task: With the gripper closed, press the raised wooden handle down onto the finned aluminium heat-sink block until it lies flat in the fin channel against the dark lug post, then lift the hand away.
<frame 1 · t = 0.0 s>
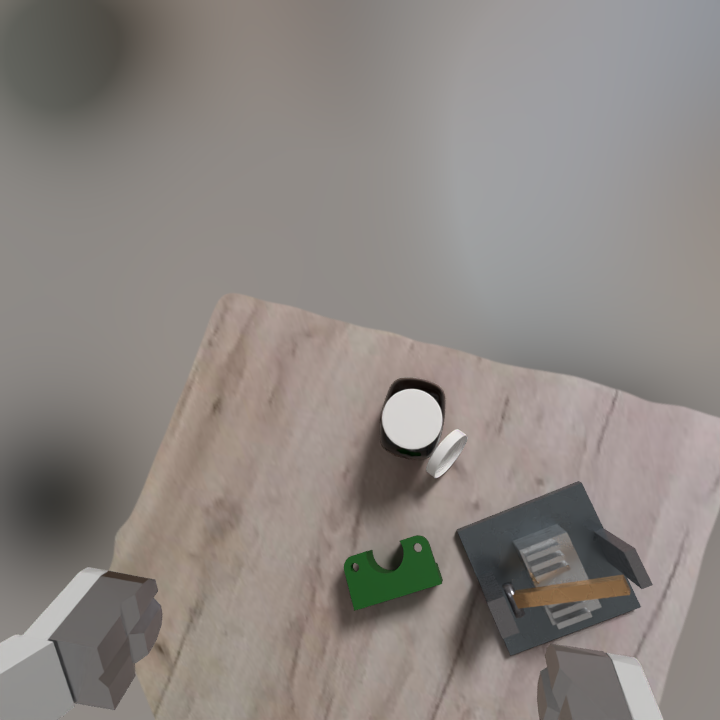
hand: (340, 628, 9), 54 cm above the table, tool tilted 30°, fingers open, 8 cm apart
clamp: (394, 562, 62), on the table
heatsink mount: (543, 565, 59), on the table
wooden handle: (563, 593, 50), point 9 cm above the table, hinge at 28.0°
chocolate spread jar: (424, 426, 63), on the table
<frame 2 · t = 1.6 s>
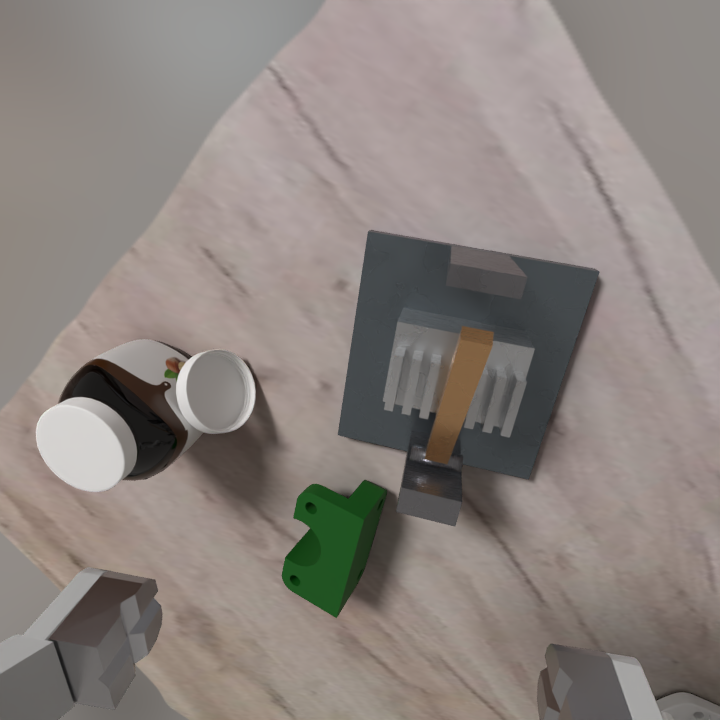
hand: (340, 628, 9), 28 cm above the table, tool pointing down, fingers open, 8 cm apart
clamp: (340, 515, 44), on the table
heatsink mount: (453, 357, 36), on the table
wooden handle: (452, 410, 28), point 9 cm above the table, hinge at 28.0°
chocolate spread jar: (194, 378, 42), on the table
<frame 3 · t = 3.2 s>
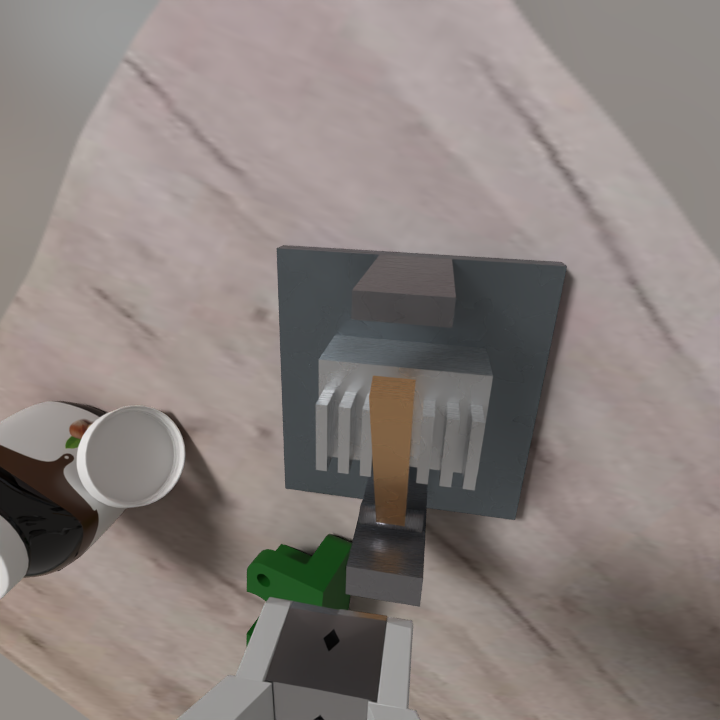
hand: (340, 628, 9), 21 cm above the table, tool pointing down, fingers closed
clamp: (310, 573, 38), on the table
heatsink mount: (406, 386, 30), on the table
wooden handle: (391, 470, 22), point 9 cm above the table, hinge at 28.0°
chocolate spread jar: (117, 436, 36), on the table
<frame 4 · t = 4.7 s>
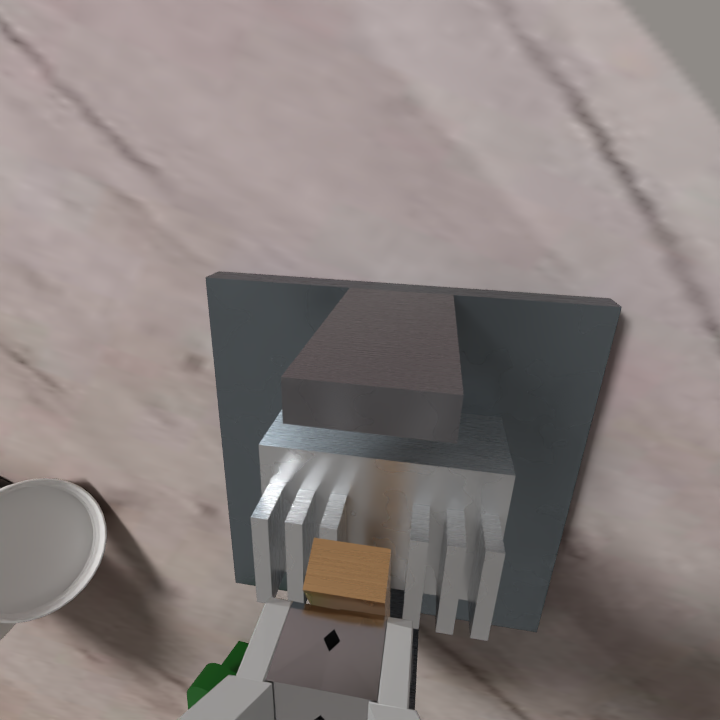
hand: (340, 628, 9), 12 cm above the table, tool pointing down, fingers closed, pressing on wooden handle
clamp: (276, 673, 30), on the table
heatsink mount: (391, 458, 22), on the table
wooden handle: (362, 630, 14), point 9 cm above the table, hinge at 27.8°, touching gripper
chocolate spread jar: (25, 508, 28), on the table
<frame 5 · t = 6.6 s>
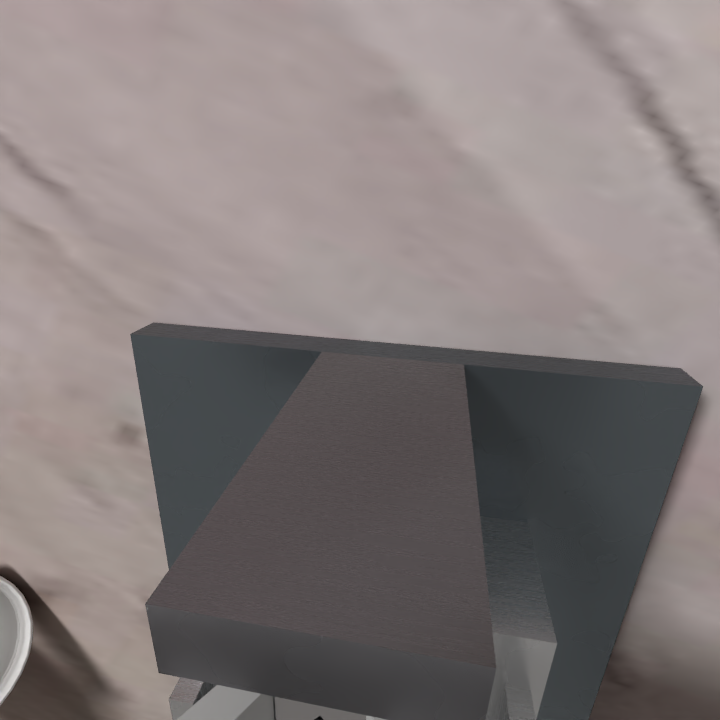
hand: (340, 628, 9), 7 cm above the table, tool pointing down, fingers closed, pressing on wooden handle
heatsink mount: (381, 557, 17), on the table
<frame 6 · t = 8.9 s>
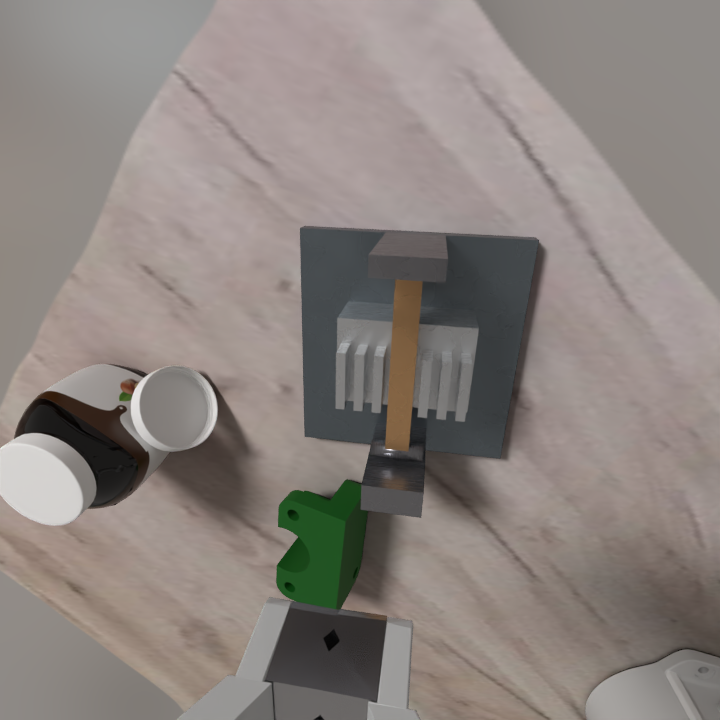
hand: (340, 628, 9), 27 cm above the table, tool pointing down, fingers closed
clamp: (329, 516, 44), on the table
heatsink mount: (407, 345, 35), on the table
wooden handle: (402, 372, 30), point 6 cm above the table, hinge at -0.3°
chocolate spread jar: (157, 396, 41), on the table
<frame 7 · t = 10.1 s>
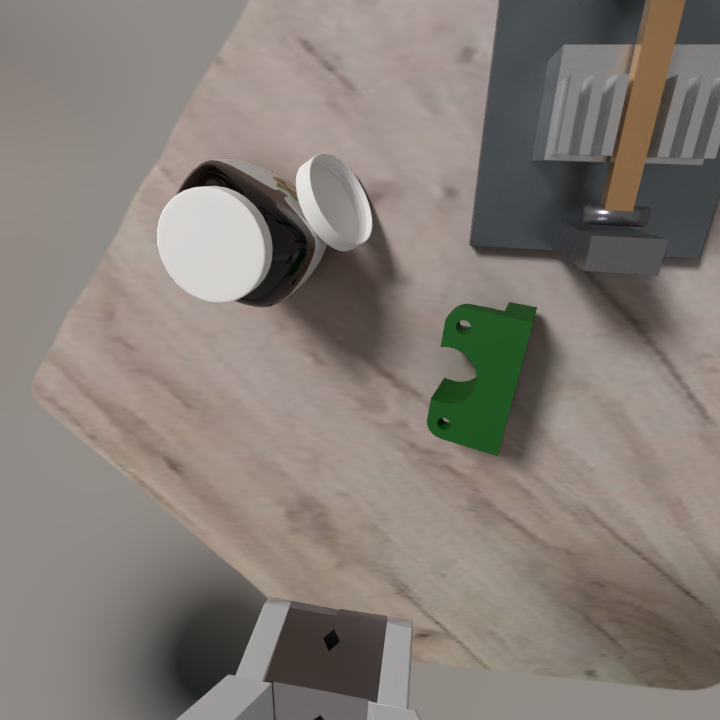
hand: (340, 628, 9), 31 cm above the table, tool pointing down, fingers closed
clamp: (477, 357, 40), on the table
heatsink mount: (603, 123, 32), on the table
wooden handle: (640, 105, 26), point 6 cm above the table, hinge at -0.3°
chocolate spread jar: (296, 214, 37), on the table
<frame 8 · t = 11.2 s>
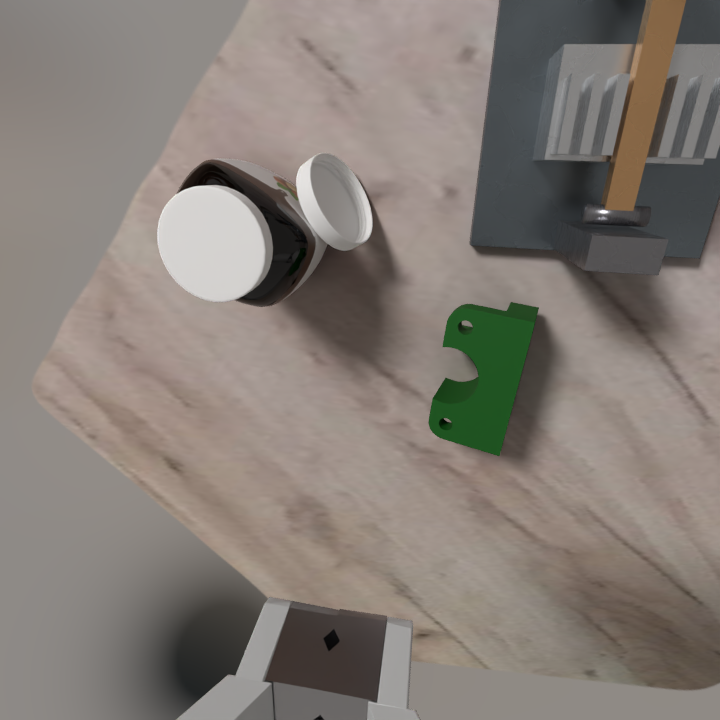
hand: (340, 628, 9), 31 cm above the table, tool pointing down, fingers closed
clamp: (479, 357, 40), on the table
heatsink mount: (603, 123, 32), on the table
wooden handle: (640, 104, 26), point 6 cm above the table, hinge at -0.3°
chocolate spread jar: (296, 213, 37), on the table
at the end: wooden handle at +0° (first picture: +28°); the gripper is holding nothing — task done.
